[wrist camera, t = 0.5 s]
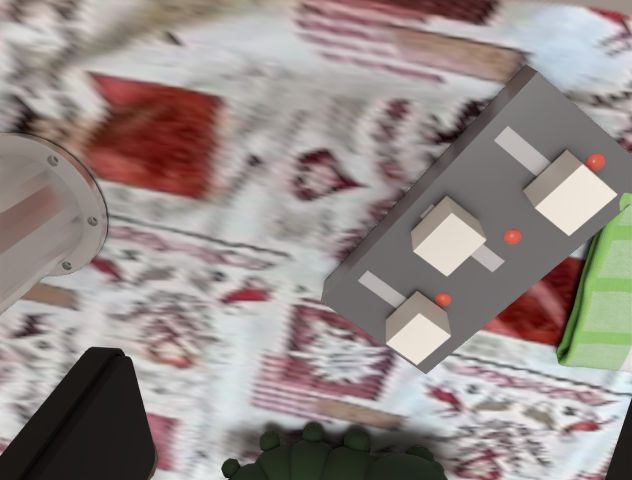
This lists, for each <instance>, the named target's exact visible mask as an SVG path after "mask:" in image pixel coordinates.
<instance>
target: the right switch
mask: <svg viewBox="0 0 632 480" xmlns="http://www.w3.org/2000/svg"><path fill="white" fill-rule="evenodd" d="M523 191H524V193H525V194H526V196H527V197H528V199H529V200H530V202H531V203H532V205H533V206H534V208H535V209H537V210H538V211H539V212H540V213H541V214H543V215H544V216H545V217H546V218H547V219H549V220H550V221H551V222H552V223H554V224H555V225H556V226H557V227H558V228H560V229H561V230H562V231H563V232H565V233H566V234H567V235H568V236H570V235H571V234H572V233H573V232H574V231H576V230H577V229H578V228H579V227H580V226H582V225H583V224H584V223H585V222H586V221H587V220H589V219H590V218H591V217H592V216H593V215H594V214H596V213H597V212H598V211H599V210H600V209H602V208H603V207H604V206H605V205H606V204H607V203H609V202H610V201H611V200H612V199H613V198H614V197H616V196H617V195H618V194H617V193H615V192H614V191H613V190H612V189H611V188H610V187H609V186H608V185H607V184H606V183H604V182H603V181H602V180H601V179H600V178H599V177H598V176H597V175H596V174H594V173H593V172H592V171H591V170H590V169H589V168H587V167H586V166H585V165H584V164H583V163H582V162H580V161H579V160H578V159H577V158H576V157H575V156H574V155H572V154H571V153H570V152H569V151H568V150H566V151H565V152H564V153H563V154H562V155H561V156H559V157H558V158H557V159H556V160H555V161H554V162H553V163H552V164H551V165H550V166H549V167H548V168H547V169H546V170H545V171H544V172H542V173H541V174H540V175H539V176H538V177H537V178H536V179H535V180H534V181H533V182H532V183H531V184H530V185H529V186H528V187H527V188H525V189H524V190H523Z"/></svg>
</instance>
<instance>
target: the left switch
mask: <svg viewBox="0 0 632 480" xmlns="http://www.w3.org/2000/svg"><path fill="white" fill-rule="evenodd" d="M450 337H451V332H450V327H449V321H448V316H447V312H445V311H444V310H443V309H441V308H440V307H439V306H437V305H436V304H434V303H433V302H432V301H430V300H429V299H428V298H426V297H425V296H424V295H422V294H421V293H419V292H418V291H416V292H415V293H414V294H413V295H412V296H411V297H410V298H409V299H408V300H407V301H406V302H404V303H403V304H402V305H401V306H400V307H399V308H398V309H397V310H396V311H395V312H394V313H393V314H392V315H391V316H390V317H389V318H387V319H386V344H387V345H389V346H390V347H392V348H393V349H395V350H396V351H397V352H399V353H400V354H402V355H403V356H405V357H406V358H407V359H409V360H410V361H412V362H413V363H415V364H416V365H418V364H419V363H420V362H421V361H423V360H424V359H425V358H426V357H427V356H428V355H430V354H431V353H432V352H433V351H434V350H436V349H437V348H438V347H439V346H440V345H441V344H443V343H444V342H445V341H446V340H447V339H448V338H450Z"/></svg>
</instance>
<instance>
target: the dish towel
mask: <svg viewBox="0 0 632 480" xmlns="http://www.w3.org/2000/svg"><path fill="white" fill-rule="evenodd" d="M619 204H620V211H621V210H622V212H621V213H620V214H619V215H617V216H616V217H615V218H614V219H613V220H611V221H610V222H609V223H608V224H606V225H605V226H604V227H603V228H602V229H600V230H599V231H598V232H597V233H596V234H595V235H594V239H593V242H592V245H591V248H590V251H589V254H588V257H587V260H586V263H585V266H584V268H583V273H582V276H581V280H580V283H579V287H578V291H577V295H576V300H575V304H574V308H573V310H572V313H571V316H570V318H569V321H568V324H567V326H566V330H565V333H564V336H563V339H562V342H561V344H560V345H559V347H558V349H557V351H556V353H557V358H558V363H559V364H560V365H563V366H568V367H586V368H596V369H606V370H615V371H626V372H632V194H630V193H624V194H623V196H622V197H621V199H620V203H619ZM627 204H631V205H629V206H628V207H627V208H626V209H625V210H623V209H624V207H625V206H626V205H627Z"/></svg>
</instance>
